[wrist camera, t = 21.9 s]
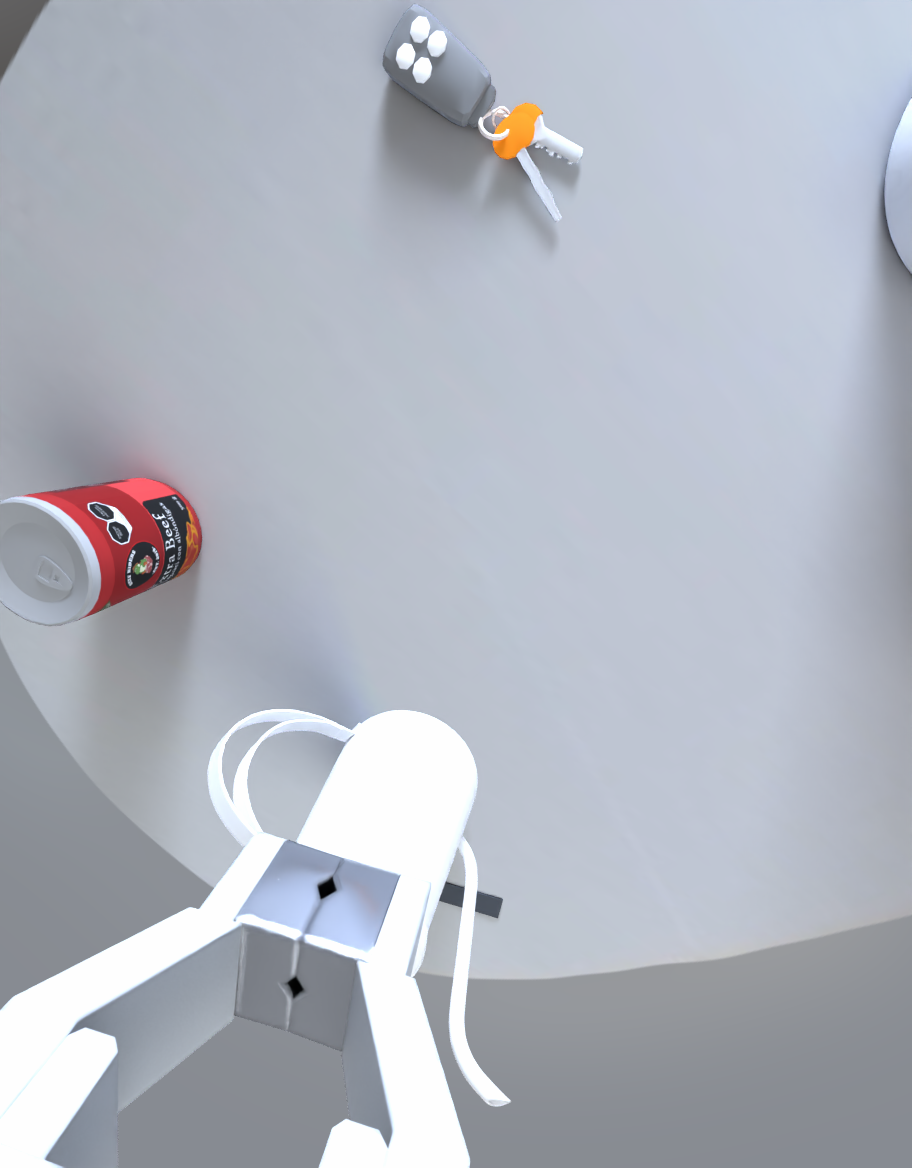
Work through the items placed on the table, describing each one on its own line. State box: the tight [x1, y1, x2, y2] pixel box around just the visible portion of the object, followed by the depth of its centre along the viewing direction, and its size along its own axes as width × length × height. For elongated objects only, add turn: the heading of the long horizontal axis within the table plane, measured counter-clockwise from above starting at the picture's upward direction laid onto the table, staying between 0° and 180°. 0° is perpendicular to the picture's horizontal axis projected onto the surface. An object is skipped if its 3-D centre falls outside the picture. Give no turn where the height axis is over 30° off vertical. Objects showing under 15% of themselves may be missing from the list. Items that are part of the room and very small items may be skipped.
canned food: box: [0, 478, 202, 626], centre depth 38 cm, size 8×8×11 cm
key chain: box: [383, 4, 583, 223], centre depth 32 cm, size 13×4×2 cm, turn 53°
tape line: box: [439, 882, 503, 918], centre depth 49 cm, size 18×2×1 cm, turn 79°
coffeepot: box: [208, 709, 511, 1106], centre depth 37 cm, size 11×25×19 cm, turn 46°
